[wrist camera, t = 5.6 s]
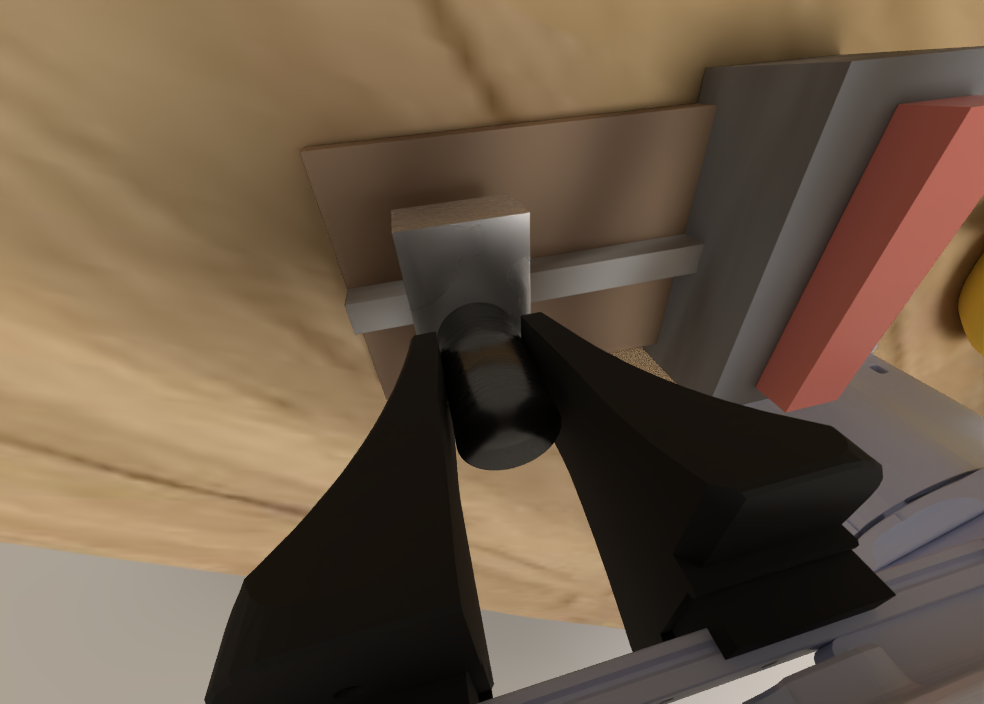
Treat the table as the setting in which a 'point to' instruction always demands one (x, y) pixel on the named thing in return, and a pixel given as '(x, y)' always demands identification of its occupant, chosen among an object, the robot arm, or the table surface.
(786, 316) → the rail stand
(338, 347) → the table surface
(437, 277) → the carriage
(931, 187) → the bar
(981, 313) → the teapot
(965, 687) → the robot arm
